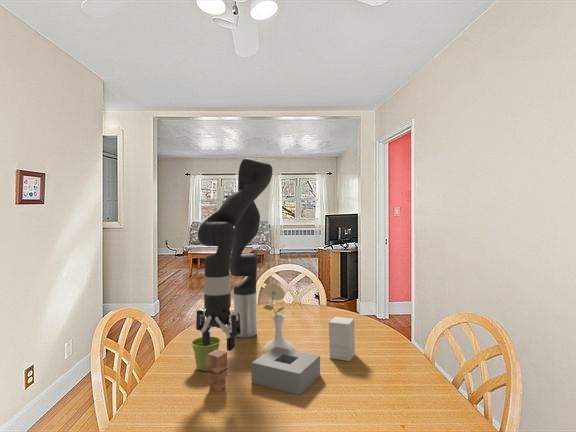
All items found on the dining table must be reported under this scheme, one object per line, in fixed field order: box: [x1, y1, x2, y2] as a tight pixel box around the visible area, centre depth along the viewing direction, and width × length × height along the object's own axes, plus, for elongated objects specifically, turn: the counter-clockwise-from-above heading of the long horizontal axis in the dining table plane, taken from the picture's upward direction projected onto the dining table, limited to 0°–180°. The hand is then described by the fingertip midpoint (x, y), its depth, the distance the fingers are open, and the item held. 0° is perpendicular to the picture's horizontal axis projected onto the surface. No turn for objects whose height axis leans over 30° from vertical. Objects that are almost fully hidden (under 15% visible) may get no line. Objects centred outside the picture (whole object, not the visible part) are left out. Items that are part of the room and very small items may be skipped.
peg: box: [206, 349, 229, 392], centre depth 105 cm, size 4×4×10 cm
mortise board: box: [250, 347, 321, 396], centre depth 110 cm, size 16×14×6 cm
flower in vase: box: [262, 282, 296, 355], centre depth 129 cm, size 13×11×25 cm
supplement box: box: [328, 316, 356, 362], centre depth 127 cm, size 7×7×13 cm
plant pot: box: [190, 335, 222, 372], centre depth 119 cm, size 9×9×9 cm
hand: (218, 347), depth 105 cm, fingers open, 8 cm apart
